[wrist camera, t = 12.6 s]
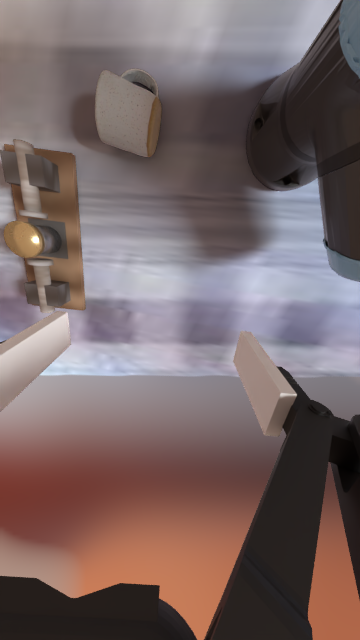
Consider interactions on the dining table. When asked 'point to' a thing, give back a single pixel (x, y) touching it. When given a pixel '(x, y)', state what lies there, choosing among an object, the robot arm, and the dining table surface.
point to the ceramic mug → (128, 111)
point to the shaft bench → (48, 222)
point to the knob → (31, 239)
